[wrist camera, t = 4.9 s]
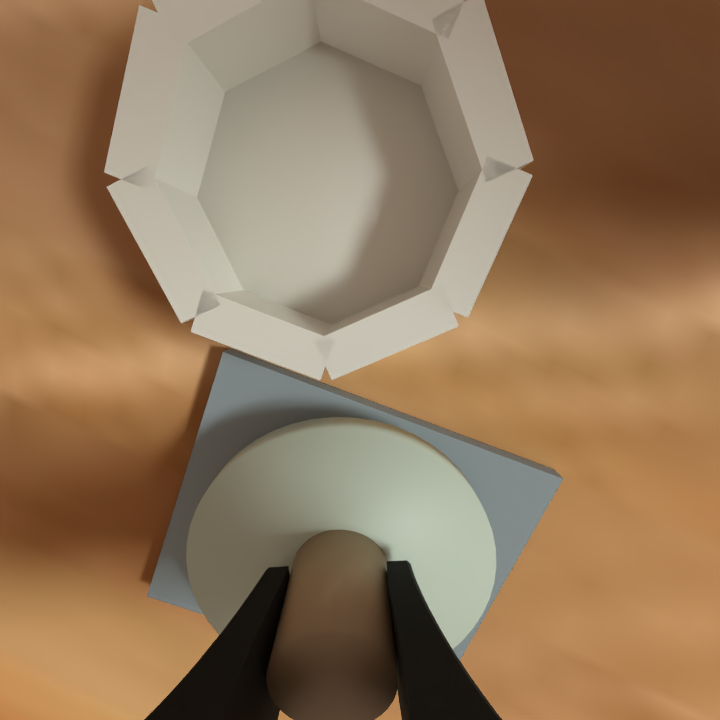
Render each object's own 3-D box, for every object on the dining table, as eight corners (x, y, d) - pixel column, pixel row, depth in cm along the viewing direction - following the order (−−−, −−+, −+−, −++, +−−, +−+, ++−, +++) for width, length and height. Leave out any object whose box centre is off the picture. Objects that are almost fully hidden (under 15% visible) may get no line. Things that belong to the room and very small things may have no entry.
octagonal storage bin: (532, 102, 11) (595, 37, 8) (408, 384, 13) (421, 418, 10) (230, -34, 10) (174, -159, 7) (149, 285, 12) (78, 290, 9)
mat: (554, 469, 13) (563, 478, 13) (439, 675, 15) (442, 691, 15) (229, 348, 12) (223, 351, 12) (155, 583, 15) (146, 596, 14)
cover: (493, 410, 11) (563, 489, 7) (483, 659, 13) (530, 818, 10) (174, 423, 11) (75, 506, 7) (219, 665, 14) (162, 824, 10)
